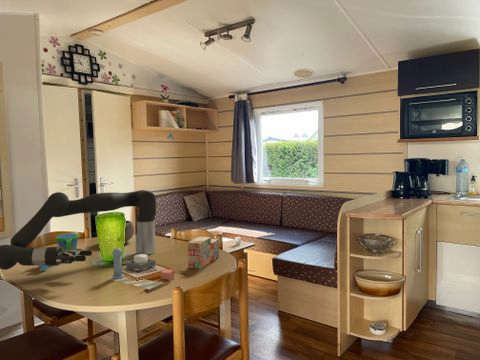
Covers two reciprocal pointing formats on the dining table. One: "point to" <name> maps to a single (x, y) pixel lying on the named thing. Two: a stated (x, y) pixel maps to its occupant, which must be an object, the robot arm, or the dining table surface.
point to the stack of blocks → (202, 252)
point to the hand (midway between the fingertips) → (88, 255)
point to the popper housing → (140, 266)
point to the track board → (140, 283)
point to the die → (167, 275)
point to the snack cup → (67, 241)
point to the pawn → (117, 263)
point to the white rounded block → (140, 258)
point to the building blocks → (44, 267)
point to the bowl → (129, 231)
